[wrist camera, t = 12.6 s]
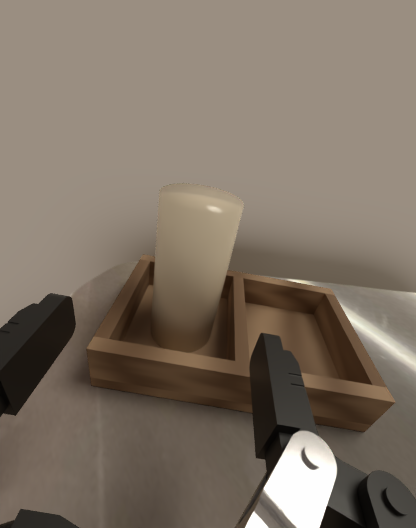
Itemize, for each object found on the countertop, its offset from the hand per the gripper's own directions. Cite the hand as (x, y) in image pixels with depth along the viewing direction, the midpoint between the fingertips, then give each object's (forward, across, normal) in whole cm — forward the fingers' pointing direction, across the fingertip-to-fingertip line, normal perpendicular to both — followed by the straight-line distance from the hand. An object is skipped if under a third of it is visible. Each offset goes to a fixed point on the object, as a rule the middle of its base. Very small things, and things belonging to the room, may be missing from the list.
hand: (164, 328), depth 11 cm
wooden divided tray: (+8, -5, +10) cm, 14 cm away
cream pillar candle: (+8, 0, +9) cm, 12 cm away
